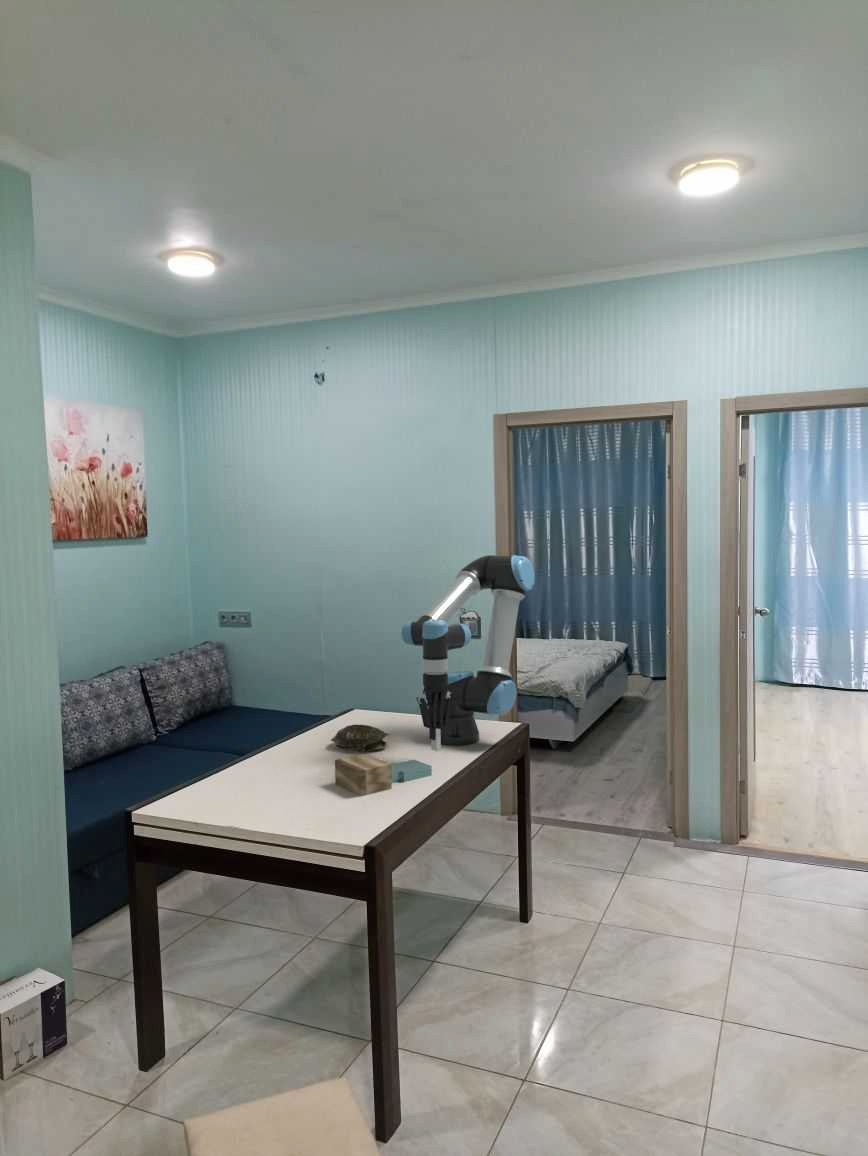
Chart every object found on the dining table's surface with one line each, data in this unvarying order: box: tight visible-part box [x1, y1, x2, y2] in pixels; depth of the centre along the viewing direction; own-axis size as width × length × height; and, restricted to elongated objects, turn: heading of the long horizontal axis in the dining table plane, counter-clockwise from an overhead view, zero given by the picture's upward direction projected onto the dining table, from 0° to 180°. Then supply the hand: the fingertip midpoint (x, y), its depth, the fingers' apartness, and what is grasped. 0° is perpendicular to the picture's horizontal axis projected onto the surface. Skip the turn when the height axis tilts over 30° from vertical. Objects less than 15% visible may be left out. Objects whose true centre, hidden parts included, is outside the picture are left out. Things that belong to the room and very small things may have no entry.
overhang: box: [334, 753, 393, 797], centre depth 245 cm, size 10×14×7 cm
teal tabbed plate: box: [390, 759, 433, 784], centre depth 253 cm, size 14×9×3 cm, turn 127°
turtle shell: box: [330, 724, 391, 753], centre depth 287 cm, size 16×9×20 cm
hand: (436, 749), depth 260 cm, fingers closed
